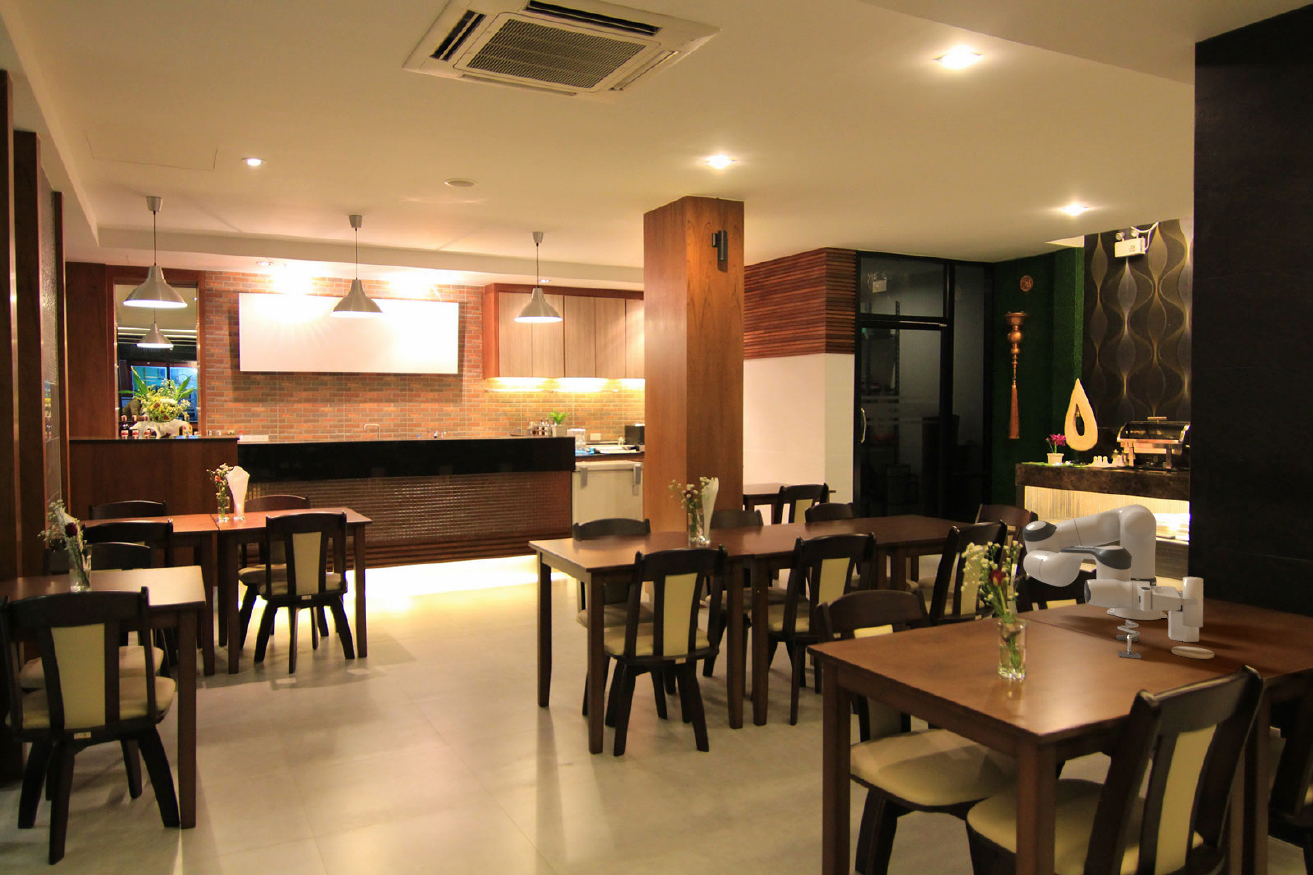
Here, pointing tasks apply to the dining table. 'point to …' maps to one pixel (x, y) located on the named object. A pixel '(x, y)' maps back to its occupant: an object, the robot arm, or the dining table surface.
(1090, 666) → the dining table surface
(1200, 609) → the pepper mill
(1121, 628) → the coil spring stand
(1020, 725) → the dining table surface
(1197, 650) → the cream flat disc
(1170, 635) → the jar
